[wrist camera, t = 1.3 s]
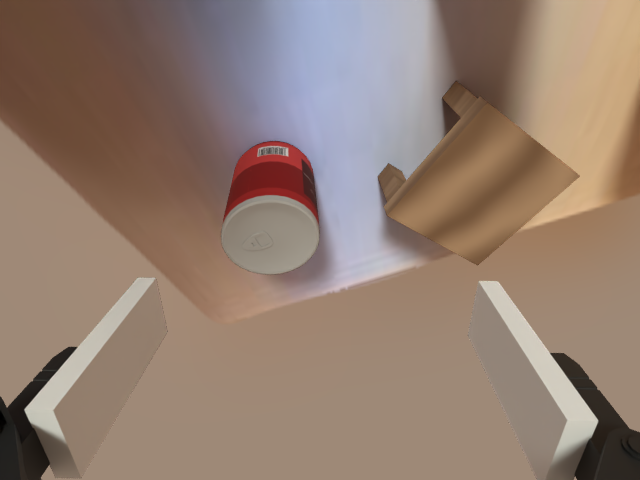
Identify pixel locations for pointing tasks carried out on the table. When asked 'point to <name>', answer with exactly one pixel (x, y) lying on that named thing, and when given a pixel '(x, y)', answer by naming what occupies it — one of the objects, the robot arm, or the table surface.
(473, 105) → the stool
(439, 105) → the table surface
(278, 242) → the canned food
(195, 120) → the table surface
